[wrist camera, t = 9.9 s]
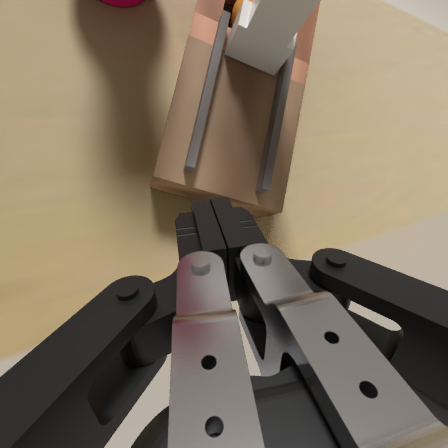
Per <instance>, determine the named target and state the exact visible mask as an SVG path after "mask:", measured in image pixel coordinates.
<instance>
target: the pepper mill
mask: <svg viewBox="0 0 448 448" xmlns="http://www.w3.org/2000/svg"><path fill="white" fill-rule="evenodd" d="M101 1H103V2H105V3H107V4H110V5H114V6H121V7H128V6H134V5H137V4H139V3H141V2H143V1H144V0H101Z"/></svg>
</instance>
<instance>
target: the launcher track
mask: <svg viewBox="0 0 448 448" xmlns="http://www.w3.org/2000/svg"><path fill="white" fill-rule="evenodd" d="M236 1H237V0H197V4H196V8H195V12H194V16H193V20H192V24H191V28H190V31H189V35H188V39H187V43H186V47H185V51H184V55H183V59H182V63H181V67H180V71H179V75H178V79H177V83H176V87H175V91H174V95H173V98H172V102H171V106H170V110H169V114H168V118H167V122H166V126H165V130H164V134H163V138H162V142H161V146H160V150H159V154H158V158H157V162H156V165H155V169H154V173H153V178H152V183H151V188H153V189H156V190H160V191H164V192H168V193H171V194H175V195H179V196H182V197H186V198H190V199H194V200H199V199H209V200H210V198H218V197H228V198H229V200H230V202H231V204H232V206H233V207H243V208H244V209H246V210H247V211H249V212H250V214H251V215H253V216H257V217H264V216H269V215H273V214H277V213H281V212H282V209H283V204H284V198H285V193H286V187H287V182H288V176H289V170H290V165H291V159H292V154H293V148H294V143H295V137H296V132H297V126H298V121H299V115H300V110H301V104H302V98H303V93H304V87H305V82H306V76H307V71H308V65H309V60H310V54H311V49H312V43H313V37H314V32H315V26H316V21H317V15H318V10H319V4H320V2H319V3H318V5H317V6H316V7H315V9H314V10H313V11H312V13H311V14H310V16H309V17H308V18H307V20H306V21H305V22H304V24H303V25H302V26H301V28H300V29H299V30H298V32H297V36H296V41H295V47H294V51H293V52H292V53H291V55H290V56H289V57H288V58H287V60H286V61H285V62H284V63H283V65H282V66H281V67H280V68H279V70H278V71H277V72H276V74H275V75H274V76H273V75H271V74H268V73H266V72H264V71H261V70H259V69H257V68H254V67H252V66H250V65H247V64H245V63H243V62H240V61H238V60H236V59H233V58H231V57H229V56H226V55H225V51H226V47H227V42H228V38H229V34H230V31H231V28H230V27H228V23H229V19H230V14H231V13H229V12H227V11H225V10H223V7H224V3H225V2H226V3H228V4H230V5H232V6H234V4H235V2H236Z"/></svg>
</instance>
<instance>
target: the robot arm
mask: <svg viewBox="0 0 448 448" xmlns="http://www.w3.org/2000/svg"><path fill="white" fill-rule="evenodd" d="M191 208H192V212H189V213H180V214H179V216H178V217H177V219H176V220H175V224H176V233H177V243H178V252H179V263H178V267H177V269H176V270H175V271H174V272H173V273H172V274H171V275H170V276H168V277H166V278H164V279H162V280H160V281H157V282H155V283H152V281H151V280H149V279H148V278H146V277H143V276H127V277H124V278H121V279H118V280H116V281H115V282H113V283H111V284H110V285H109V286H108V287H106V288H105V289H104V290H103V291H102V292H101V293H99V294H98V295H97V296H96V297H95V298H93V299H92V300H91V301H90V302H89V303H87V304H86V305H85V306H84V307H83V308H82V309H80V310H79V311H78V312H77V313H76V314H74V315H73V316H72V317H71V318H70V319H69V320H67V321H66V322H65V323H64V324H63V325H61V326H60V327H59V328H58V329H57V330H56V331H54V332H53V333H52V334H51V335H50V336H48V337H47V338H46V339H45V340H44V341H42V342H41V343H40V344H39V345H38V346H37V347H35V348H34V349H33V350H32V351H31V352H29V353H28V354H27V355H26V356H25V357H24V358H23V359H21V360H20V361H19V362H18V363H17V364H15V365H14V366H13V367H12V368H11V369H10V370H8V371H7V372H6V373H5V374H4V375H2V376H1V377H0V448H104V447H105V445H106V444H107V442H108V441H109V440H110V438H111V437H112V435H113V434H114V433H115V431H116V430H117V428H118V427H119V426H120V424H121V423H122V421H123V420H124V419H125V417H126V416H127V414H128V413H129V411H130V410H131V409H132V407H133V406H134V405H135V403H136V402H137V400H138V399H139V398H140V396H141V395H142V393H143V392H144V391H145V389H146V388H147V386H148V385H149V383H150V382H151V381H152V379H153V378H154V376H155V375H156V374H157V372H158V371H159V369H160V368H161V367H162V365H163V364H164V362H165V360H166V357H167V355H168V354H170V353H171V375H170V400H169V401H170V402H169V406H168V407H166V408H165V409H164V410H163V411H161V412H160V413H159V414H158V415H157V416H155V418H154V419H153V420H152V421H151V422H150V423H149V424H148V425H147V426H146V427H145V428H144V430H143V431H142V432H141V434H140V435H139V436H138V437H137V439H136V440H135V442H134V444H133V445H132V446H131V448H448V291H447V290H445V289H442V288H439V287H437V286H434V285H431V284H429V283H426V282H424V281H421V280H418V279H415V278H413V277H410V276H408V275H405V274H403V273H400V272H397V271H395V270H392V269H390V268H387V267H384V266H382V265H379V264H377V263H374V262H371V261H369V260H366V259H364V258H361V257H358V256H356V255H353V254H350V253H348V252H345V251H342V250H339V249H333V248H325V249H321V250H318V251H316V252H315V253H314V254H313V256H312V261H306V260H294V259H288V258H287V257H286V256H285V255H284V253H283V252H282V251H281V250H280V249H279V248H277V247H275V246H273V245H270V244H268V243H267V241H266V239H265V238H264V236H263V234H262V233H261V231H260V229H259V227H258V226H257V224H256V222H255V221H254V219H253V217H252V215H251V214H250V212H249V211H247V210H246V209H244V208H243V207H233V206H232V204H231V202H230V200H229V198H228V197H218V198H210V200H209V199H199V200H191ZM236 300H237V301H238V304H239V319H240V321H241V324H242V326H243V329H244V331H245V334H246V336H247V339H248V341H249V344H250V346H251V349H252V351H253V354H254V356H255V359H256V361H257V363H258V366H259V369H260V372H261V376H250V375H249V370H248V365H247V360H246V355H245V351H244V346H243V341H242V336H241V332H240V327H239V322H238V317H237V313H236V311H235V310H233V309H232V304H231V301H236ZM351 301H353V302H355V303H357V304H360V305H362V306H364V307H366V308H368V309H370V310H372V311H374V312H376V313H379V314H380V315H383V316H385V317H387V318H389V319H391V320H393V321H395V322H396V323H397V324H399V326H400V327H401V328H402V329H401V330H399V331H391V330H388V329H386V328H384V327H382V326H380V325H378V324H376V323H374V322H372V321H370V320H368V319H366V318H364V317H362V316H360V315H358V314H356V313H354V312H352V311H350V310H348V308H349V305H350V302H351Z"/></svg>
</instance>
